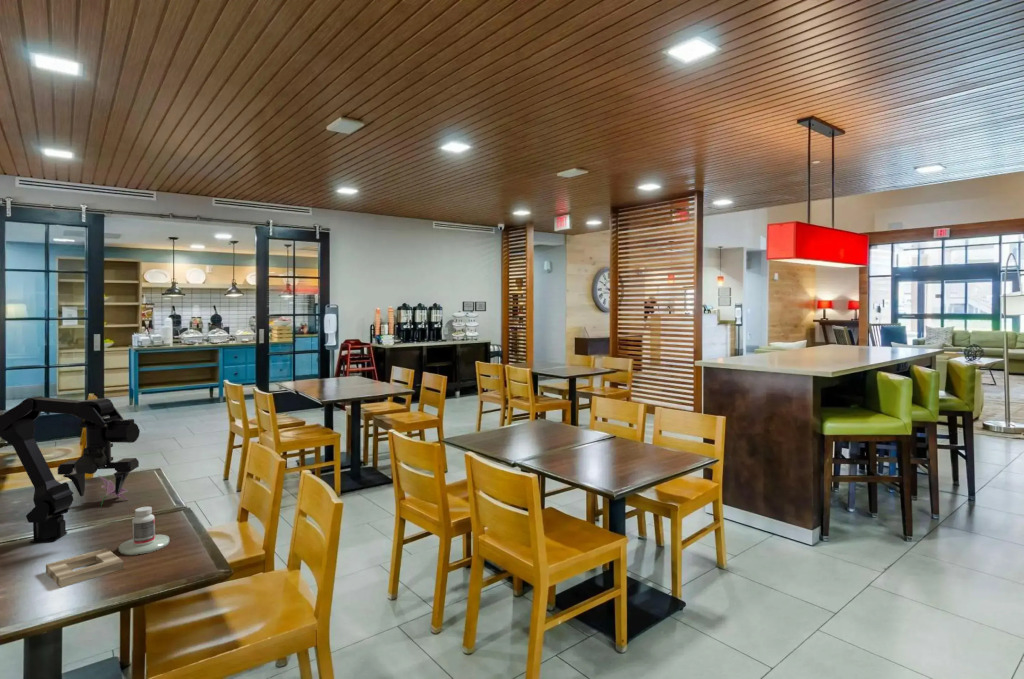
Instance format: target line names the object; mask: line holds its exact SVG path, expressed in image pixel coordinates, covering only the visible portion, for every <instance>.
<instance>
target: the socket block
mask: <svg viewBox="0 0 1024 679" xmlns="http://www.w3.org/2000/svg"><path fill="white" fill-rule="evenodd" d="M89 565H90V566H89ZM85 566H86V567H85ZM81 567H82V568H81ZM74 569H75V570H74ZM121 570H124V560H123V559H121V558H120V557H119V556H117V555H116V554H115V553H113V552H112V551H111V550H109V548H107V547H104V548H101V549H99V550H94V551H91V552H87V553H84V554H79V555H77V556H76V555H75V556H72V557H69V558H65V559H64V558H63V559H62V560H57V561H54V562H50V563H47V564H45V572H46V574H47V576H49V577H50V578H51V579H52V580H53V581H54V582H55V583H56V585H57V586H58V587H59V588H60V589H62V588H65V587H68V586H71V585H74V584H78V583H80V582H84V581H87V580H91V579H94V578H97V577H101V576H105V575H108V574H111V573H114V572H118V571H121Z"/></svg>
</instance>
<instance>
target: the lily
mask: <svg viewBox="0 0 1024 679" xmlns="http://www.w3.org/2000/svg"><path fill="white" fill-rule="evenodd" d="M97 477H98V478H99V479H101V481H102V482H103V483H104V484H103V485H101V486H100V487H101V488H102V489H105V490H106V494H105V496H104V498H103V499H102V501H101V503H100V505H101V506H102V505H103V502H104V501H105V499H106V498H107V497H108V496H111V495H113V496H116V498H118V497H119V498H120V497H121V498H123V499H125V500H126V501H129V500H128V498H127V497H126V496H125V495H124V493H128V492H129V490H128V489H126V488H125V487H123V486H122V488H121V490H120V492H119V494H118V495H116V492H115V483H113V481H112V480H110V479H109V480H108V479H106V478H105V477H103V476H101V475H97Z"/></svg>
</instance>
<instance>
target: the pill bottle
mask: <svg viewBox="0 0 1024 679" xmlns="http://www.w3.org/2000/svg"><path fill="white" fill-rule="evenodd" d="M152 508H153V507H152V506H141V507H138V508H136V509H134V517H133V518H132V520H131V527H132V528H131V530H132V531H131V532H132V539H133V545H135V546H143V545H147V544H150V543H152V542H154V541H155V535H156V521H155V520H156V517H155V515H154V514H152V512H153V509H152Z"/></svg>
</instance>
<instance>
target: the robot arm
mask: <svg viewBox="0 0 1024 679" xmlns="http://www.w3.org/2000/svg"><path fill="white" fill-rule="evenodd" d="M41 413H52V414H61V415H72V416H75V417H76V418H77V419H80V420H83V421H82V422H81V423H79V424H78V425H77V428H79V429H81V428H82V429H85V439H86V440H85V441H86V442H85V443H86V444H85V445H86V447H84V448H83V450H82V452H83V454H82V455H81V456H80V457H79V458H78V459H75V460H74V459H73V460H71V459H70V460H68V461H66V462H65V461H64V462H62V463H60V464H59V465H58V467H57V475H58V476H60V475H61V476H63V478H68V479H69V480H70V481H71V482H72V483H73V485H74V487H75V488H76V491H77V492H78V494H79V496H80V497H83V496H84V495H85V491H86V490H85V488H86V474H87V475H92V474H95V473H96V472H97V471H98V470H113V469H114V471H116V472H114V473H113V475H114V477H115V483H114V485H115V492H116V495H118V494H119V492H120V490H121V488H122V487H123V486H124V483H125V481H126V478H127V477H128V476H129V474H130V473H131V472H133V471H134V470H135V469H137V468H139V464H140V463H139V459H138V458H137V457H130V458H129V457H126V458H125V457H124V458H121V459H120V460H118V461H114V456H112V447H114V443H115V444H116V443H118V444H119V443H121V444H122V443H123V444H125V443H127V444H128V443H135V442H136V441H137V440H138V439H139V437H140V428H139V425H138V424H137V423H135V419H134V418H128V419H124V417H123V416H122V415H121V413H120V412H119V410H117V408H116V407H115V406H114V404H113V402H112V400H111V399H110V398H105V397H104V398H103V397H102V398H93V399H87V400H77V399H67V398H53V397H45V396H42V395H41V396H40V395H37V396H33V397H27V398H26V399H24V400H23V401H21V402H20V403H19V404H17V405H16V406H13V407H12V408H11V409H9V410H7V411H5V412H4V413H3V414H0V438H1V439H2V440H4V441H5V442H7V443H8V444H10V445H11V446H12V447H13V449H14V451H15V452H16V455H17V457H18V458H19V460H20V463H21V464H22V466H23V468H24V470H25V472H26V475H27V476H28V478H29V480H30V482H31V484H32V487H33V488H34V493H33V494H34V495H33V497H32V498H33V499H32V500H33V504H34V507H33V508H32V509H31V510H30V511H29V512H28V513H27V514H26V515H25V518H26V520H27V522H28V523H31V524H32V529H33V530H32V531H33V532H32V533H33V534H32V536H33V537H32V539H31V540H29V544H30V543H33V544H34V543H46V542H48V543H49V542H56V541H57V540H60V539H61V538H62V537H64V536H65V535H67V534H68V531H67V530H66V528H67V526H66V519H64V517H65V516H64V514H67V513H68V512H69V510H70V507H71V505H72V504H73V501H74V497H73V495H74V492H73V491H72V489H71V488H70V485H69V483H68V482H67V481H66V482H62V483H61V482H59V481H58V480H57V479H56V477H55V476H54V475H53V473H52V470H51V469H50V466H49V464H48V462H47V461H46V459H45V457H44V455H43V453H42V451H41V449H40V447H39V446H38V443H37V441H36V439H35V437H34V436H35V429H36V425H35V420H36V419H38V418H39V417H40V415H41ZM116 495H115V496H116Z"/></svg>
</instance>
